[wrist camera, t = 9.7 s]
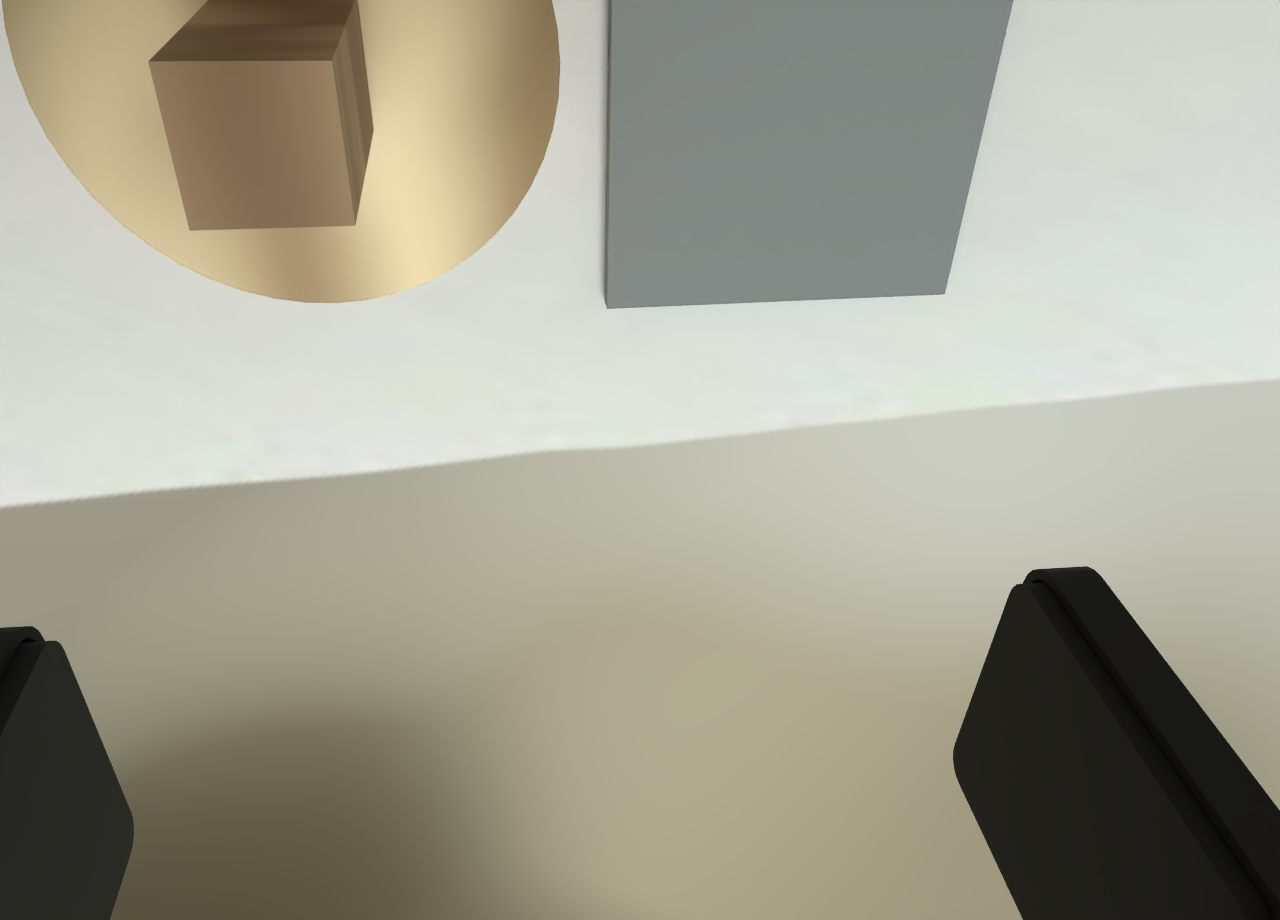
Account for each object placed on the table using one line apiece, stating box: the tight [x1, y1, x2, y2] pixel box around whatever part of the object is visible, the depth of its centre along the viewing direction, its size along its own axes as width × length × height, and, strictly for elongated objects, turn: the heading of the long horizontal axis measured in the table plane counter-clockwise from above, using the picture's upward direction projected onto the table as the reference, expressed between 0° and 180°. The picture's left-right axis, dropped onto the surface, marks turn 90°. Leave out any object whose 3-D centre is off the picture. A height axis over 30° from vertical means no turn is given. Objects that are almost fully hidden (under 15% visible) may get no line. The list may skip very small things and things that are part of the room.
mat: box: [605, 0, 1013, 309], centre depth 30 cm, size 12×12×1 cm
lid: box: [2, 0, 560, 303], centre depth 20 cm, size 12×12×7 cm
